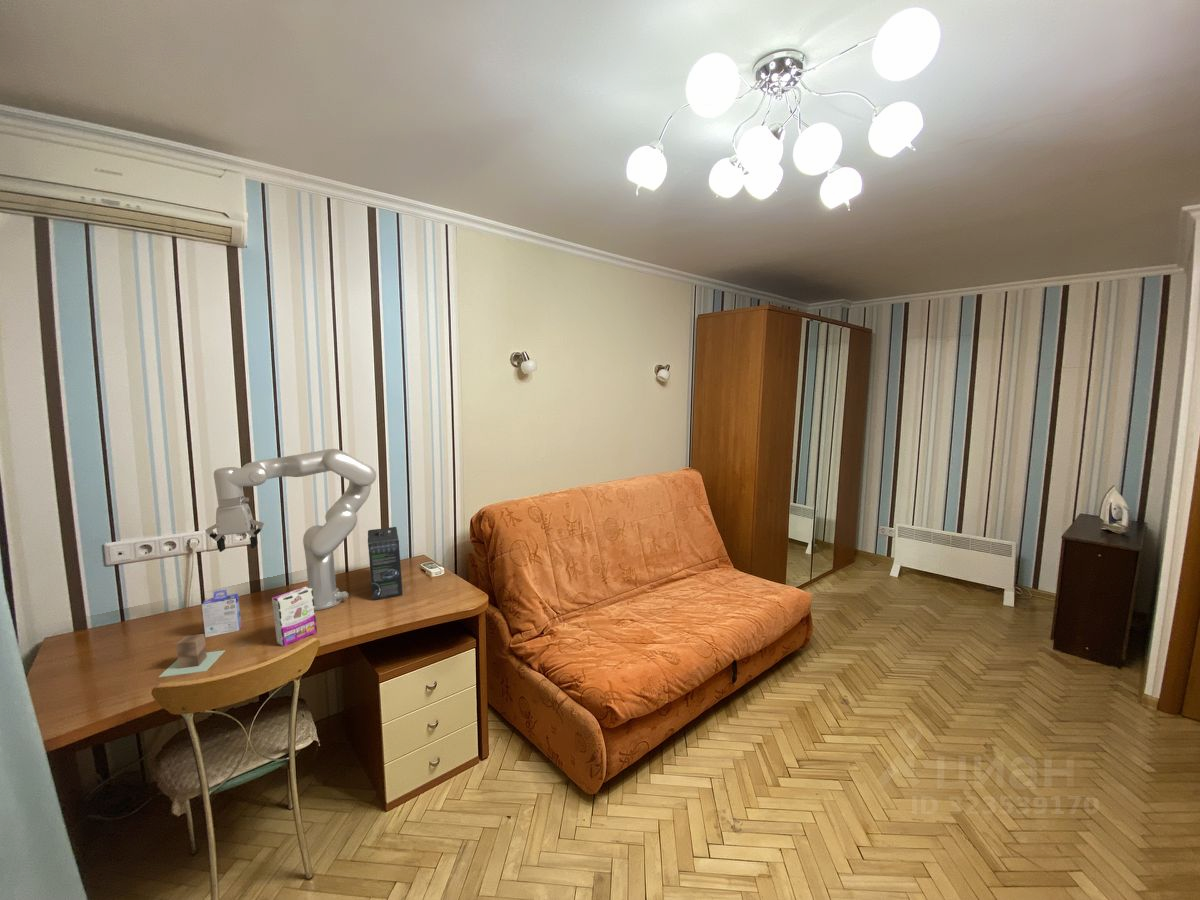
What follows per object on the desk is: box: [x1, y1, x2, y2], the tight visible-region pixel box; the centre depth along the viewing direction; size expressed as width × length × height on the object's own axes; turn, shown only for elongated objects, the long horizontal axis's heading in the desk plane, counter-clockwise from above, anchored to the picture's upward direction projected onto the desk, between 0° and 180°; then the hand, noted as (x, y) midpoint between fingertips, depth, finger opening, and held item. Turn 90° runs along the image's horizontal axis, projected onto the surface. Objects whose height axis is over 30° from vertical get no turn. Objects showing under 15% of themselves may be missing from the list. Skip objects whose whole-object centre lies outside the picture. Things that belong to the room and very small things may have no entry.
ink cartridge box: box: [201, 589, 242, 638], centre depth 171 cm, size 10×6×14 cm, turn 120°
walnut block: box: [175, 633, 207, 669], centre depth 151 cm, size 5×5×8 cm
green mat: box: [158, 650, 226, 678], centre depth 151 cm, size 12×12×1 cm
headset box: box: [367, 526, 403, 601], centre depth 206 cm, size 22×12×26 cm, turn 25°
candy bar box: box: [271, 585, 318, 647], centre depth 166 cm, size 11×5×16 cm, turn 148°
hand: (238, 548), depth 174 cm, fingers open, 9 cm apart
